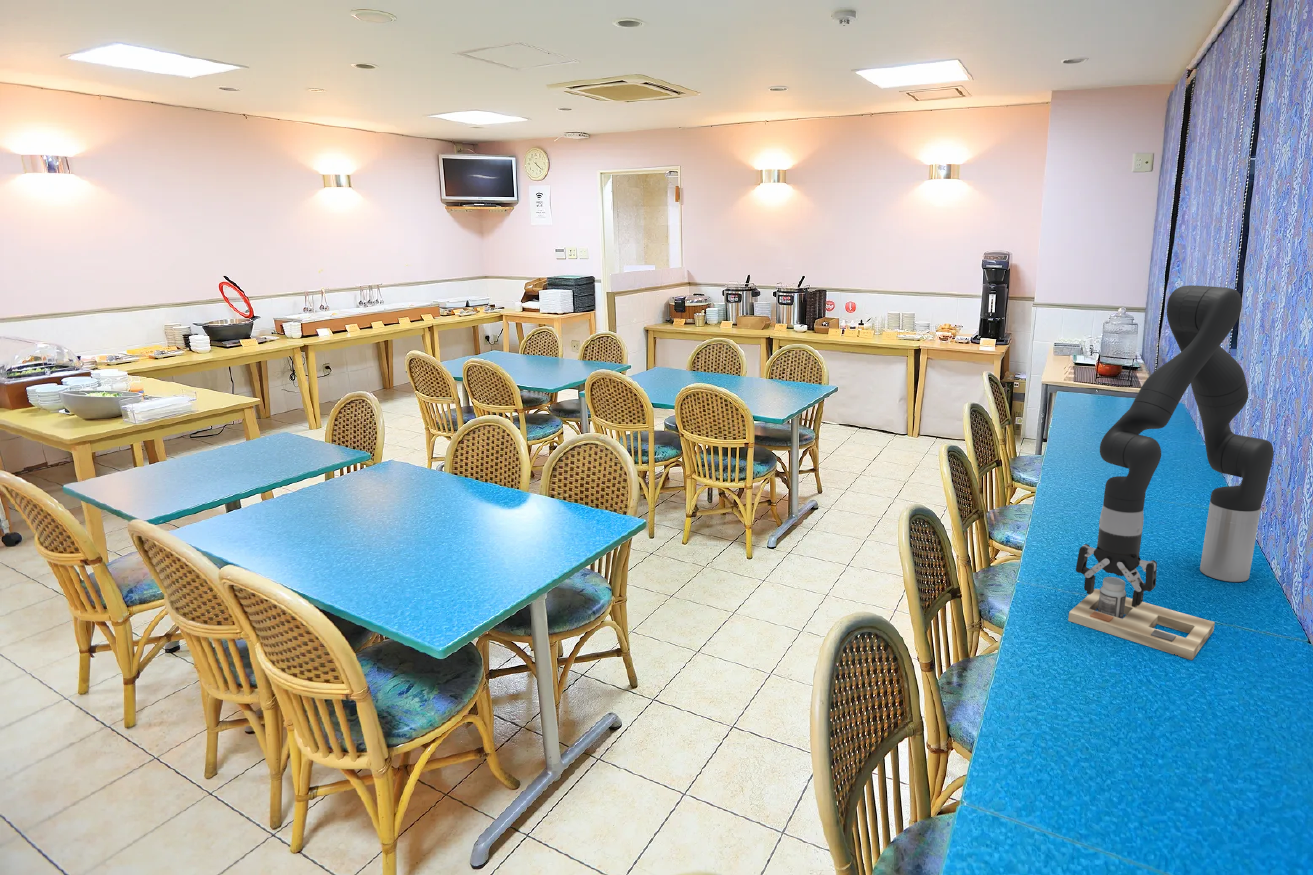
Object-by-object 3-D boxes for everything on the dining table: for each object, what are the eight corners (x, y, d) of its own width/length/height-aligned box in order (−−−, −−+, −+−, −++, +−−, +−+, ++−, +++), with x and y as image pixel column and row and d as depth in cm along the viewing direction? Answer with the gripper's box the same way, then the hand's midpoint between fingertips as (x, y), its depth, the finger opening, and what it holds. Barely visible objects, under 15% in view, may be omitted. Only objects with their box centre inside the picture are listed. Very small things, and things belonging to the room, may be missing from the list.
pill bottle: (1113, 610, 160) (1118, 575, 158) (1128, 621, 156) (1132, 585, 153) (1092, 612, 160) (1096, 576, 158) (1105, 623, 155) (1110, 586, 153)
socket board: (1094, 596, 166) (1095, 587, 166) (1213, 630, 150) (1215, 620, 150) (1068, 620, 157) (1069, 610, 156) (1192, 660, 141) (1193, 649, 140)
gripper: (1166, 531, 150) (1156, 604, 154) (1089, 514, 160) (1082, 583, 164) (1154, 542, 145) (1144, 617, 149) (1076, 524, 155) (1068, 594, 159)
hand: (1111, 599), depth 157 cm, fingers open, 8 cm apart
